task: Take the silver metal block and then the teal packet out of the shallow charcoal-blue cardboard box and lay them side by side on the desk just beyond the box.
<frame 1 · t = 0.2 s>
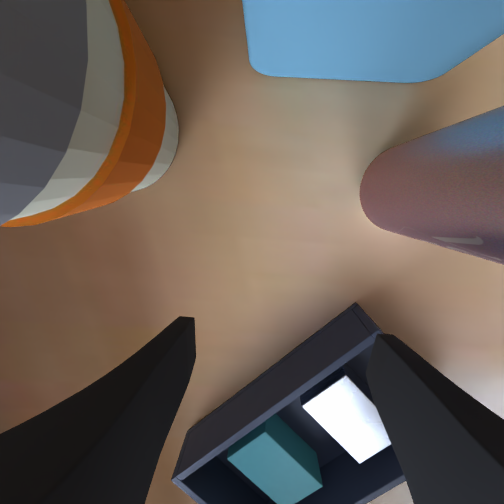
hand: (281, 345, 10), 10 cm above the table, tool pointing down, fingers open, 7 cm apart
lidded jar: (119, 129, 19), on the table
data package: (343, 44, 17), on the table
box: (306, 412, 23), on the table
silver metal block: (342, 393, 22), resting on box
beverage can: (396, 189, 19), on the table
teal packet: (273, 440, 23), resting on box
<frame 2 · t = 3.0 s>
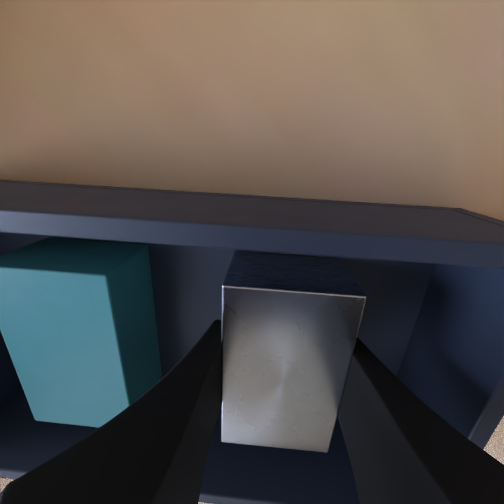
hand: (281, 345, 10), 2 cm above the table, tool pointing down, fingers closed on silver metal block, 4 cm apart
box: (198, 313, 12), on the table
silver metal block: (279, 328, 11), point 1 cm above the table, touching box, gripper
teal packet: (111, 313, 12), resting on box
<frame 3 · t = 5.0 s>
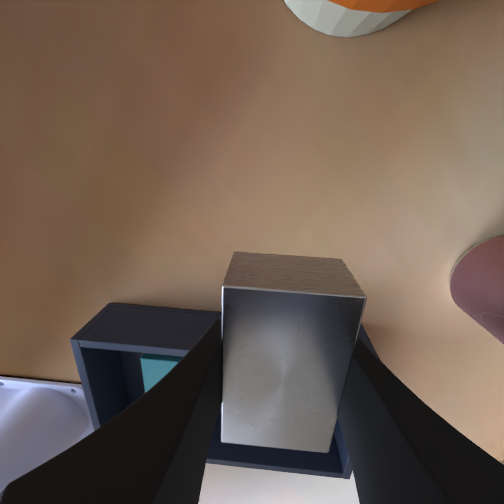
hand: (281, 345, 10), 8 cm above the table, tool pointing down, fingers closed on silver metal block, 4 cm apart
box: (230, 367, 22), on the table
silver metal block: (279, 328, 11), point 7 cm above the table, touching gripper
beverage can: (489, 271, 17), on the table
teal packet: (184, 367, 22), resting on box
when the fingers open (1 cm above the table, at t = 7.3 s): silver metal block stays where it is, on the table.
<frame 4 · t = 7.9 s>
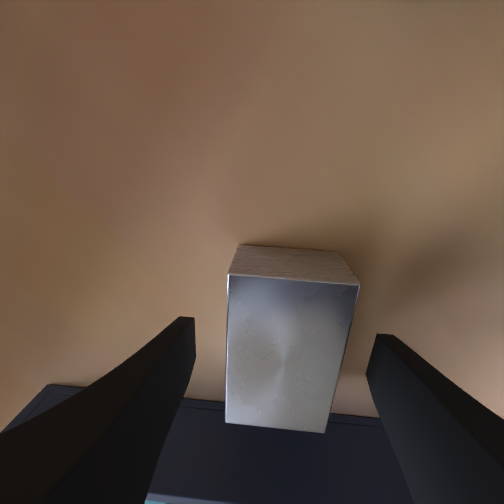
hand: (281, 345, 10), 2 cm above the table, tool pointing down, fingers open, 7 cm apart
box: (217, 463, 16), on the table
silver metal block: (280, 317, 12), on the table
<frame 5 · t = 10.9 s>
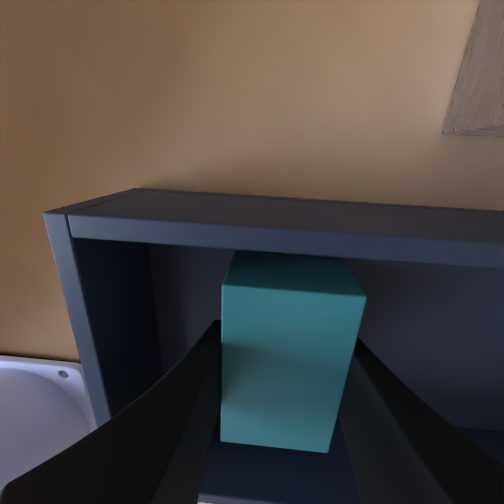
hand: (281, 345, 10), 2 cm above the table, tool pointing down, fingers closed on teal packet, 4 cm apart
box: (362, 328, 11), on the table
teal packet: (279, 328, 11), point 1 cm above the table, touching gripper
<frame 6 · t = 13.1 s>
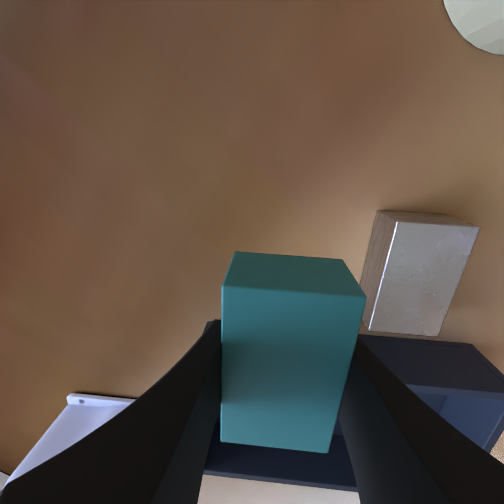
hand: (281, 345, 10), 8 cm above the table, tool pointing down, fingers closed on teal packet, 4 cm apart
box: (324, 386, 21), on the table
silver metal block: (396, 264, 17), on the table
teal packet: (279, 328, 11), point 7 cm above the table, touching gripper
when the fingers open (1 cm above the table, at t = 15.3 s): teal packet stays where it is, on the table.
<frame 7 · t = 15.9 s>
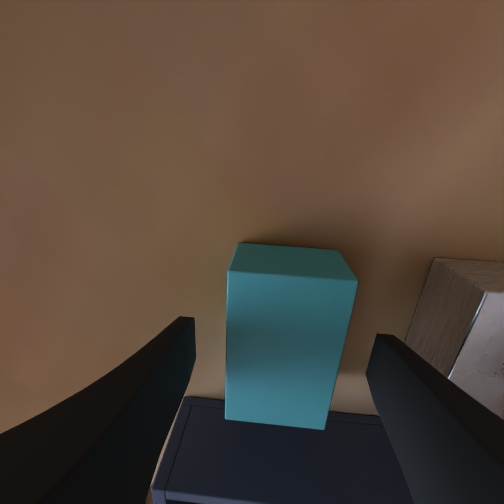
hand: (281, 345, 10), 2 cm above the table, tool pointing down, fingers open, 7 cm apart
box: (343, 476, 16), on the table
silver metal block: (456, 331, 12), on the table
teal packet: (280, 315, 12), on the table
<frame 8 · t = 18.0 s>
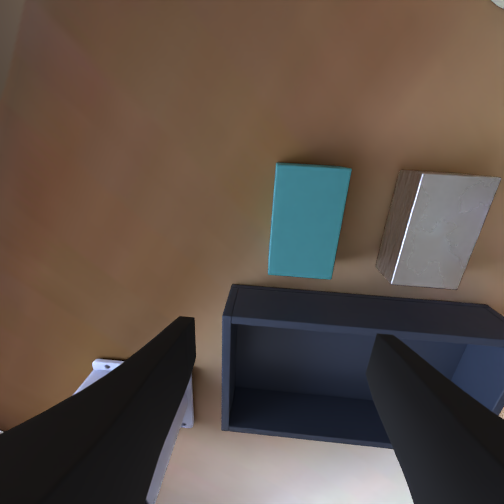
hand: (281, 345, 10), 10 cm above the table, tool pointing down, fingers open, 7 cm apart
box: (343, 349, 22), on the table
silver metal block: (416, 223, 18), on the table
teal packet: (301, 215, 18), on the table
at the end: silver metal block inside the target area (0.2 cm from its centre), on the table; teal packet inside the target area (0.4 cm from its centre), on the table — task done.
